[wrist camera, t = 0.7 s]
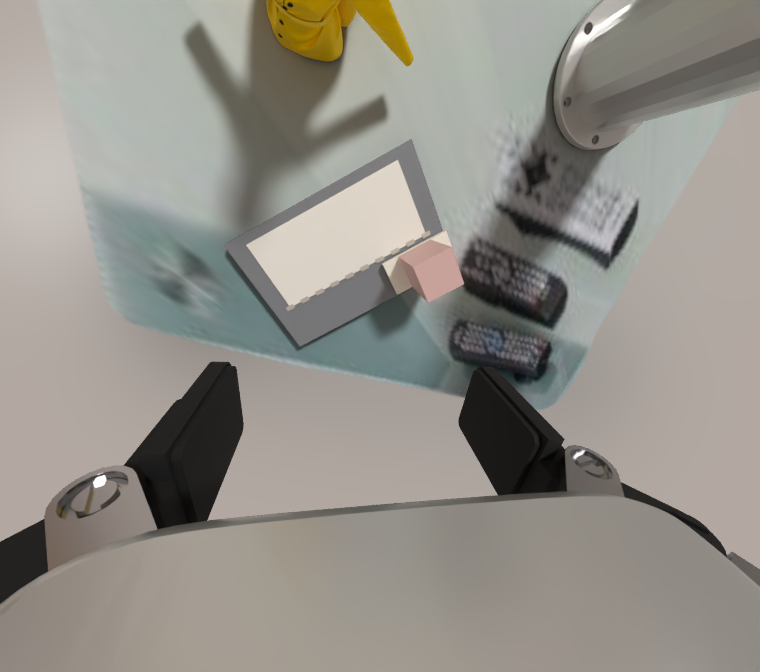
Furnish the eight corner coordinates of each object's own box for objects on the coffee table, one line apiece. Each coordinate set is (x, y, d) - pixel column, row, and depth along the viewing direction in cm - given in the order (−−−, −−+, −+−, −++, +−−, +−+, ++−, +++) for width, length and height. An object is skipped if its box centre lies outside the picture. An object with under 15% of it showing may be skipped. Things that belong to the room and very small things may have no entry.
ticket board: (407, 142, 28) (411, 138, 27) (449, 262, 34) (455, 265, 33) (228, 243, 29) (223, 245, 28) (301, 341, 36) (299, 347, 34)
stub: (443, 230, 31) (471, 236, 25) (454, 262, 33) (482, 274, 26) (381, 263, 31) (394, 277, 25) (395, 292, 33) (410, 312, 27)
